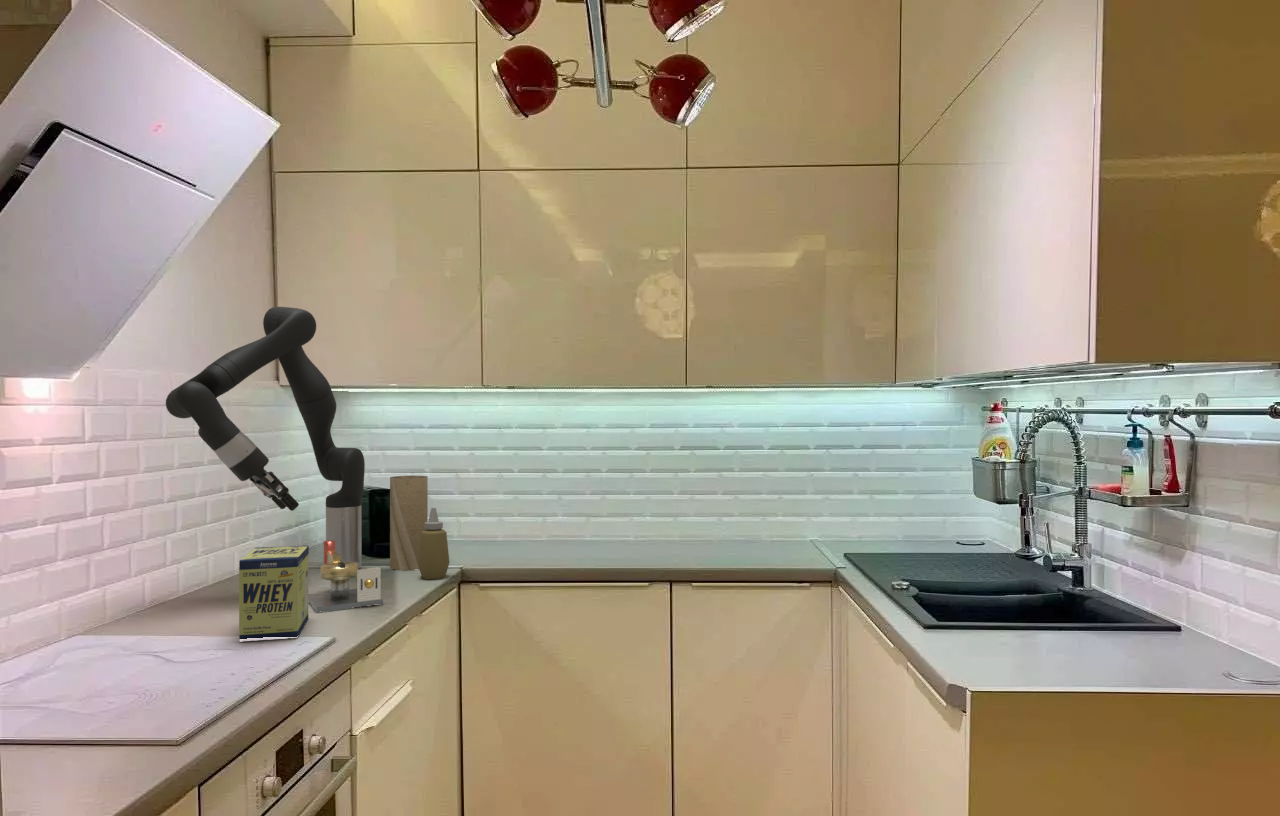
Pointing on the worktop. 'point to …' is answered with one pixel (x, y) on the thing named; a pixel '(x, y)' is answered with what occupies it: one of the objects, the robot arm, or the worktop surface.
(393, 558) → the tube
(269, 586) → the protein box
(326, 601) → the stand
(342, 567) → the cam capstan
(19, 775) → the worktop surface
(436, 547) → the squeeze bottle
